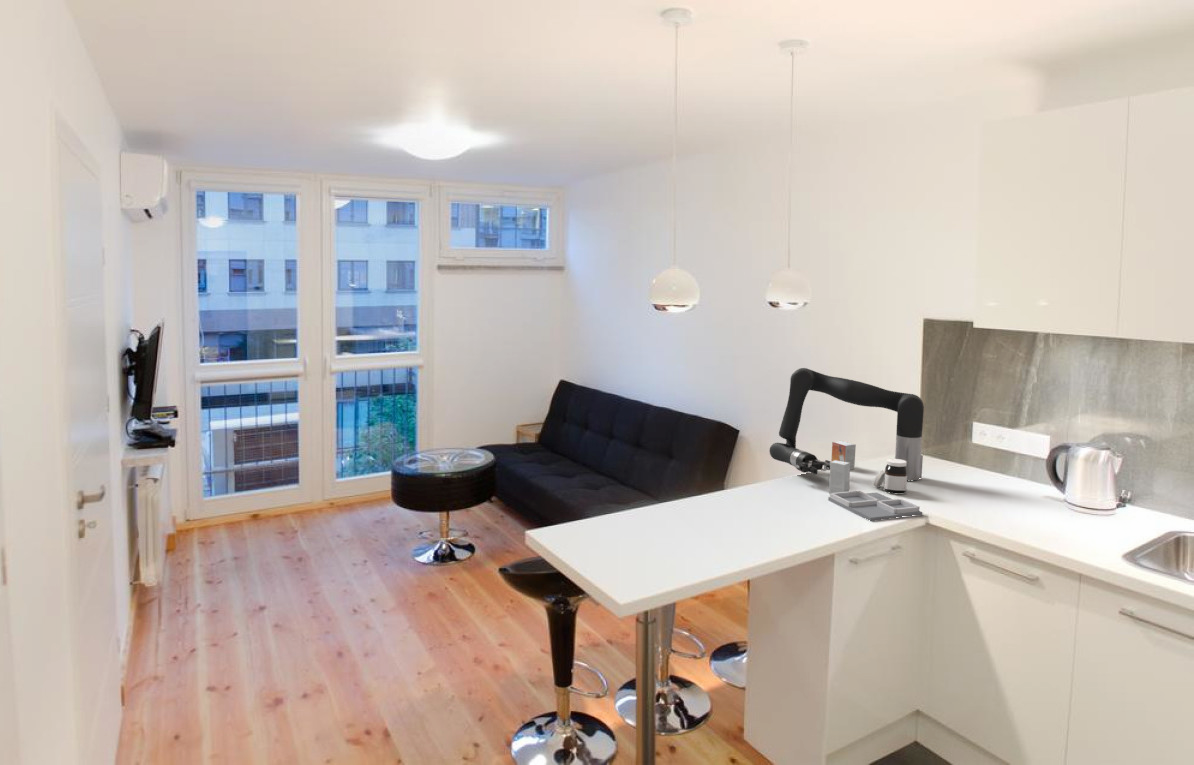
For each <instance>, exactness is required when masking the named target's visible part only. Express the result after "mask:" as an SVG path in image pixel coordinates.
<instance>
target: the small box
mask: <svg viewBox="0 0 1194 765" xmlns="http://www.w3.org/2000/svg"><path fill="white" fill-rule="evenodd" d="M830 459H831V462H832V461H835V460H837V461H842V462H848V463H850V470H854V469H855V465H856V464H855V463H856V444H855V443H850V442H848V441H847V442H846V441H844V440H837V441H832V445H831V458H830ZM853 468H854V469H853Z"/></svg>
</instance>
